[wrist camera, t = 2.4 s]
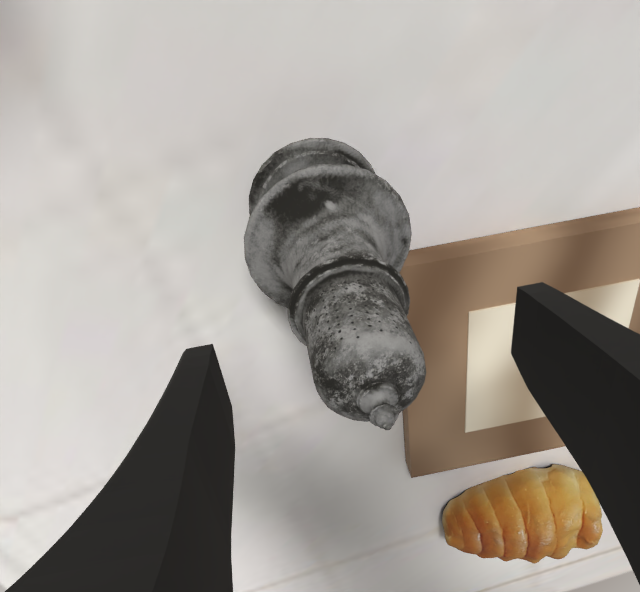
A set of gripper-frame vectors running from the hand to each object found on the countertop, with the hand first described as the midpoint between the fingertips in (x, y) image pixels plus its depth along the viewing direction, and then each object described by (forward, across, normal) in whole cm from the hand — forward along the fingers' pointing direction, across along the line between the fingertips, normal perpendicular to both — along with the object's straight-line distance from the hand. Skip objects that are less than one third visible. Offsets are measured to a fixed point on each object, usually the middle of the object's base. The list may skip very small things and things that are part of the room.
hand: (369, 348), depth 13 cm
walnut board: (+10, -10, +11) cm, 18 cm away
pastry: (+11, -10, +24) cm, 29 cm away
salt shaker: (+11, 0, +1) cm, 11 cm away
